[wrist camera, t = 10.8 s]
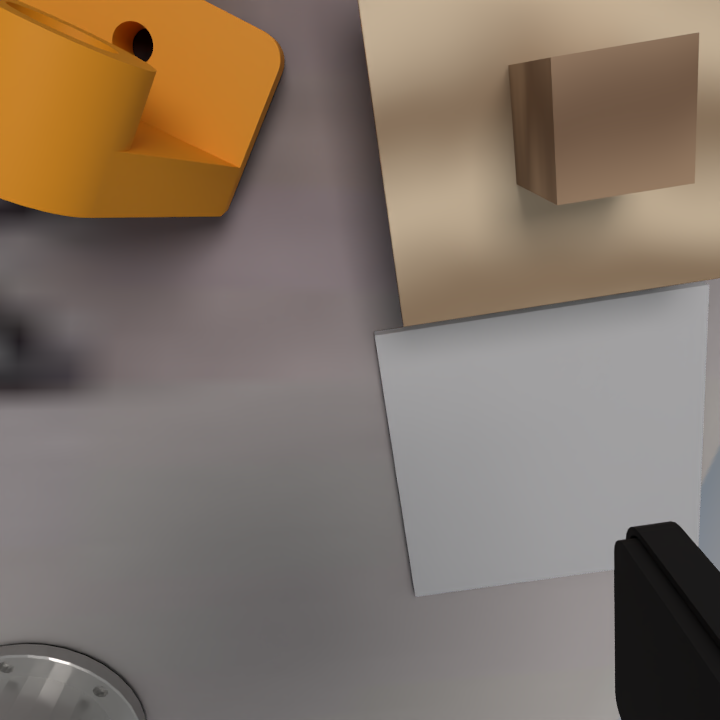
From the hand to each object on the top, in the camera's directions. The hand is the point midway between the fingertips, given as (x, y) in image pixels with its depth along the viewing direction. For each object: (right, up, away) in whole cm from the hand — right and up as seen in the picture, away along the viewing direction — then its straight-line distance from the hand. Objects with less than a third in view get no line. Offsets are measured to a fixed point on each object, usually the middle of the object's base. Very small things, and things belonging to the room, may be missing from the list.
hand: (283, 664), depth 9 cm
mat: (+11, -1, +26) cm, 28 cm away
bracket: (-8, +16, +20) cm, 27 cm away
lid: (+8, +13, +15) cm, 22 cm away
